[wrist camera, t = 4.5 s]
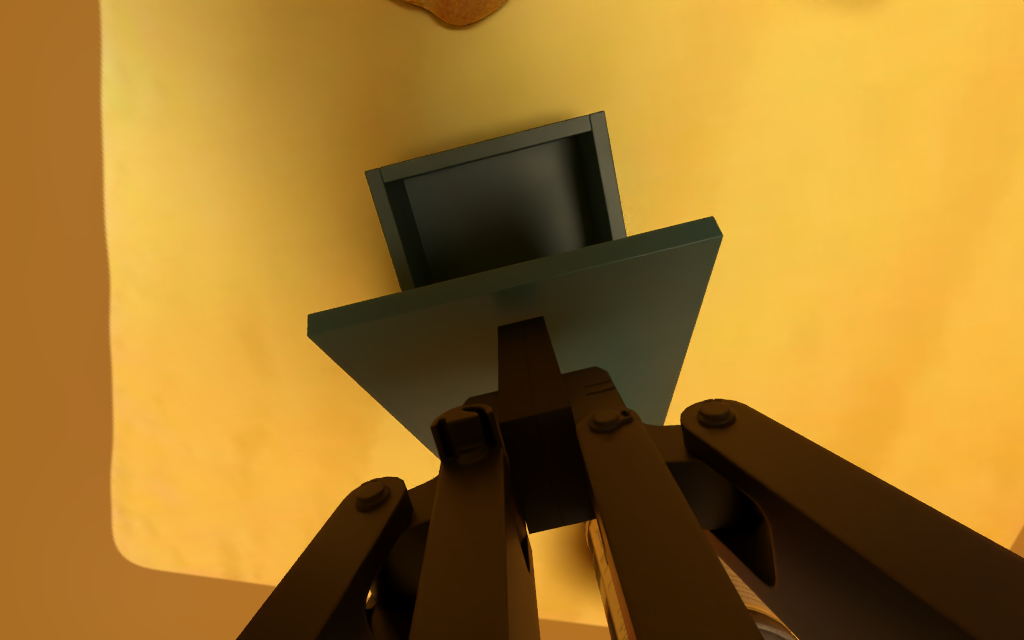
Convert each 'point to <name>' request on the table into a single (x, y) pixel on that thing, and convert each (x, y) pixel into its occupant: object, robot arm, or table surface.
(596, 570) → the coffee can
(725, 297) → the table surface
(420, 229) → the box
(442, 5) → the bread roll
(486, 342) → the lunchbox lid
